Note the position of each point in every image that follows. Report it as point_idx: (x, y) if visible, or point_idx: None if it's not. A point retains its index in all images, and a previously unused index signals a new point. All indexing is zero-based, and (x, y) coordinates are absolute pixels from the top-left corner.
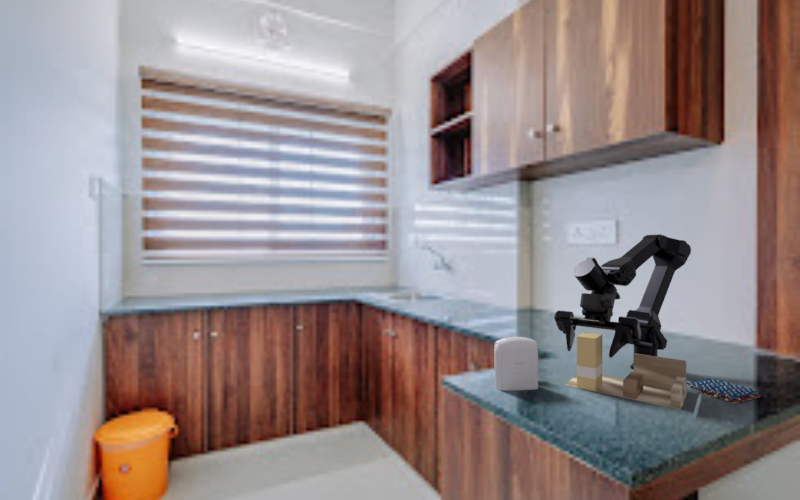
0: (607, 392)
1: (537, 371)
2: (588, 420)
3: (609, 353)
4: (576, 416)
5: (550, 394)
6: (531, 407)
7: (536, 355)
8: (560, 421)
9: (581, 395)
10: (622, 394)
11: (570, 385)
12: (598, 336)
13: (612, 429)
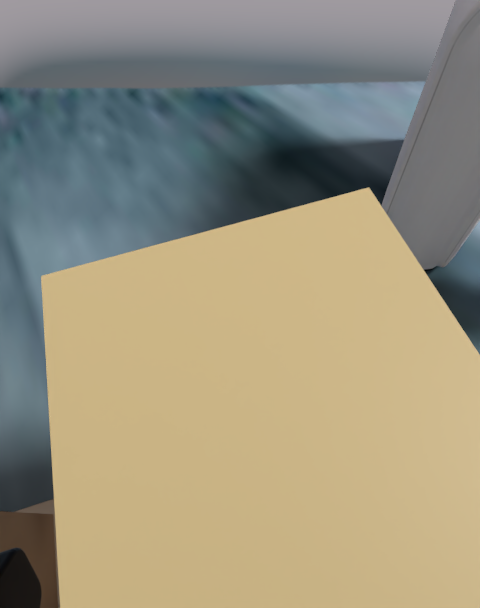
0: None
1: (395, 173)
2: (85, 191)
3: (2, 565)
4: (126, 186)
5: None
6: (258, 137)
7: (431, 79)
8: (140, 133)
9: None
10: None
11: None
12: (71, 587)
13: (8, 195)
